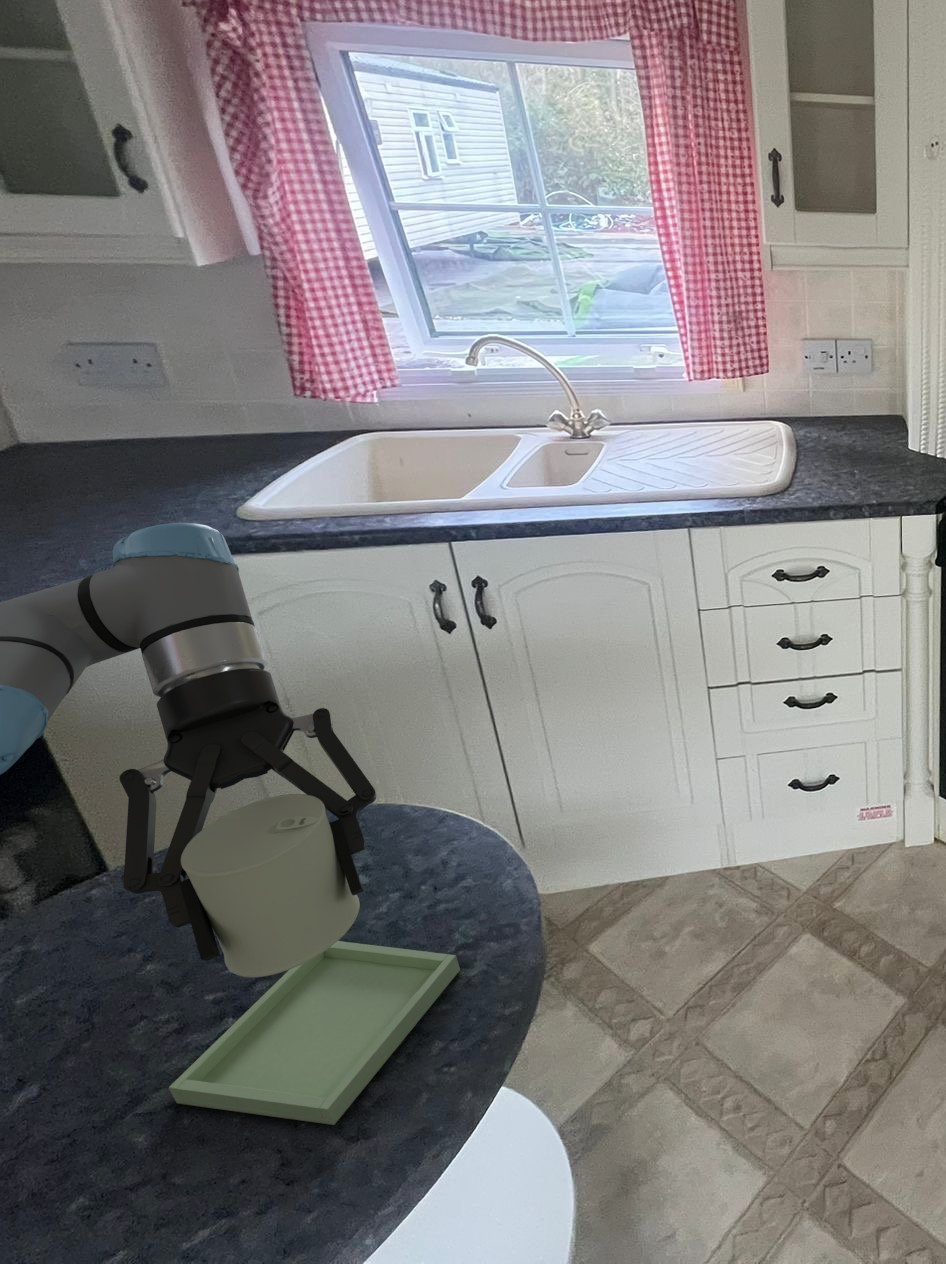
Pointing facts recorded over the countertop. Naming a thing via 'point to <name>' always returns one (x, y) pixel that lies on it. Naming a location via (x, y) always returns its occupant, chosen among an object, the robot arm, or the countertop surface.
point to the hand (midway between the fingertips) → (287, 923)
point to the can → (271, 884)
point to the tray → (318, 1033)
